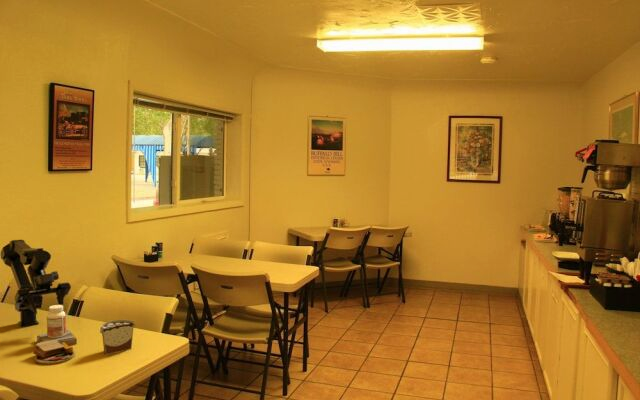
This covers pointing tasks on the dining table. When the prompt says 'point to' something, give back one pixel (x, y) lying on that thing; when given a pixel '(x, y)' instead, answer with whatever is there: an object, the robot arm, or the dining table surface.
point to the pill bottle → (56, 322)
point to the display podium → (68, 338)
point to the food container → (117, 335)
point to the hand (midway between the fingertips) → (49, 311)
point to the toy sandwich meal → (52, 352)
